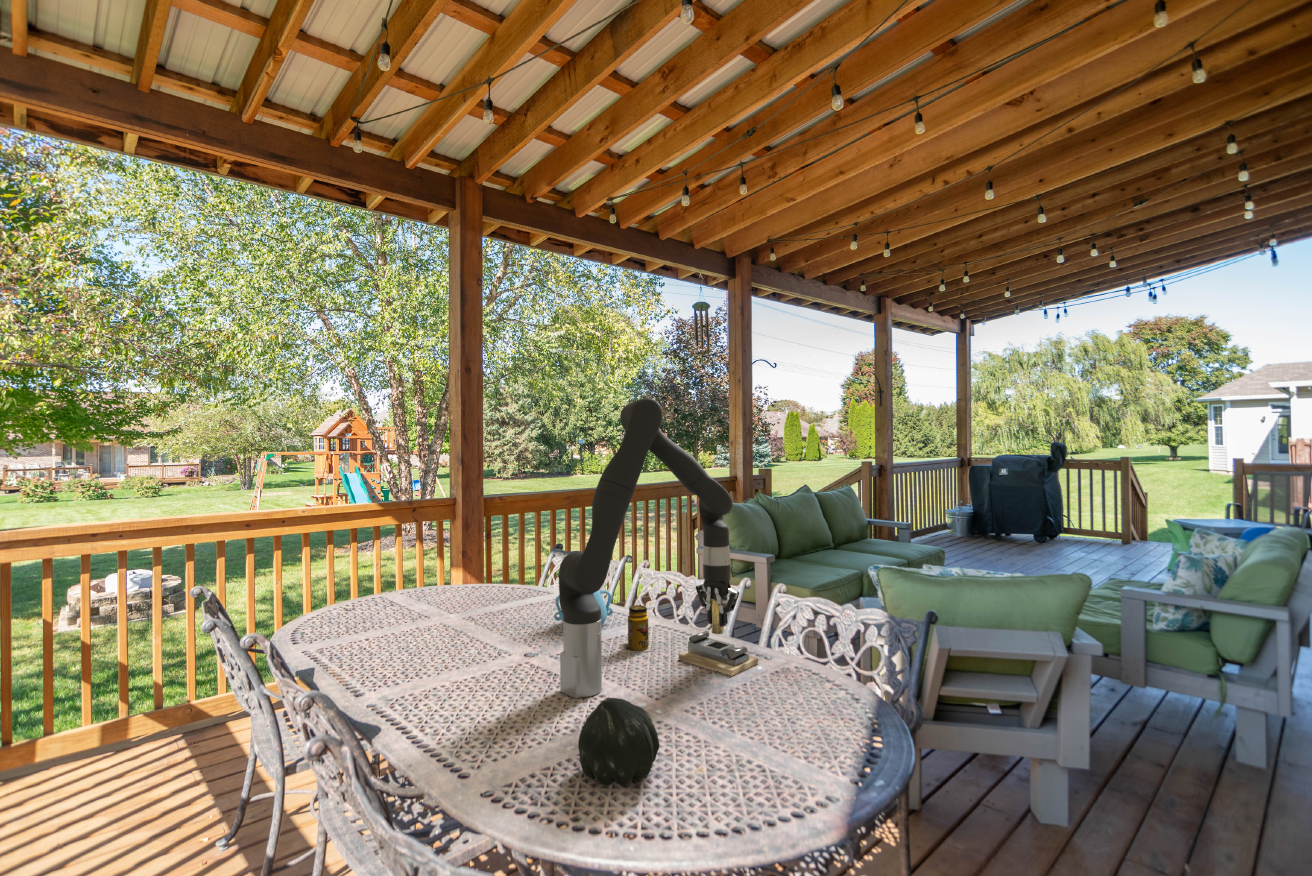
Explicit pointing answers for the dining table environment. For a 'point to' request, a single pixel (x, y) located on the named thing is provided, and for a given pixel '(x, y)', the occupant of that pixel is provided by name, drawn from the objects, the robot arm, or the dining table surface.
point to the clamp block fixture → (717, 655)
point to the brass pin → (716, 618)
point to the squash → (618, 743)
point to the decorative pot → (598, 599)
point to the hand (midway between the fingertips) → (717, 624)
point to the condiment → (637, 630)
